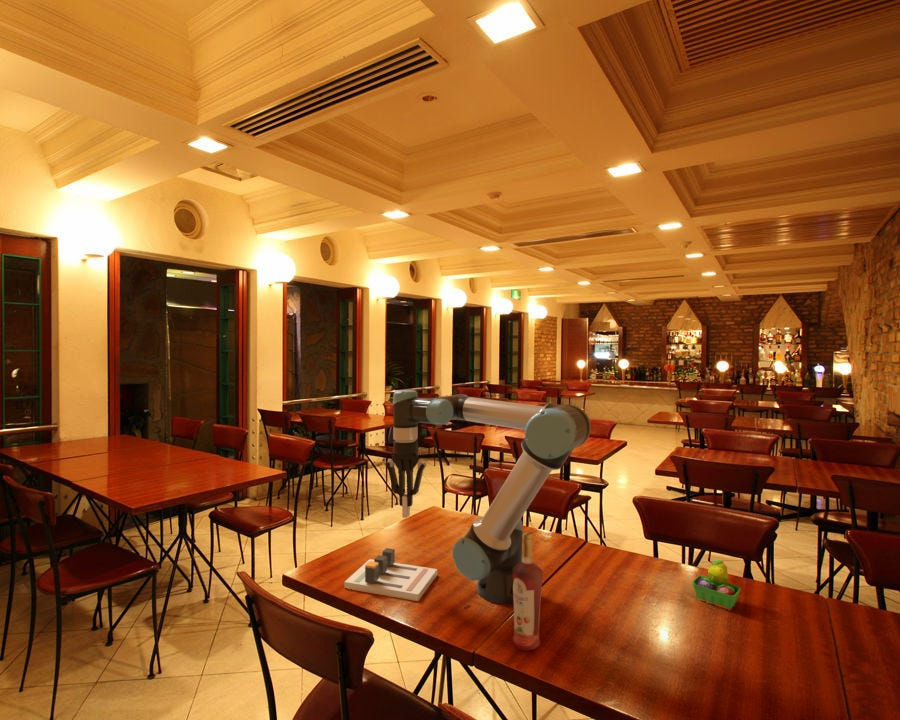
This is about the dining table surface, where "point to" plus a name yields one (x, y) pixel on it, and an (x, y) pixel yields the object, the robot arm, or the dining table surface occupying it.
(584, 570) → the dining table surface
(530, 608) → the liquor
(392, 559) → the handle far
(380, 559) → the handle middle
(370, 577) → the handle
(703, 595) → the fruit basket
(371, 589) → the panel
